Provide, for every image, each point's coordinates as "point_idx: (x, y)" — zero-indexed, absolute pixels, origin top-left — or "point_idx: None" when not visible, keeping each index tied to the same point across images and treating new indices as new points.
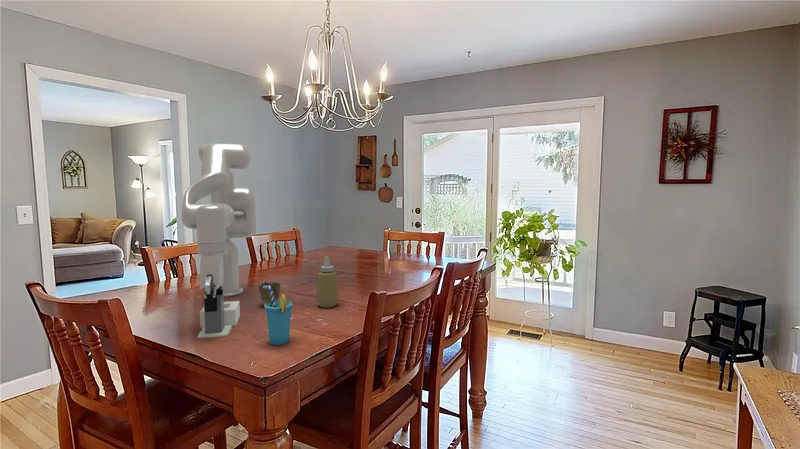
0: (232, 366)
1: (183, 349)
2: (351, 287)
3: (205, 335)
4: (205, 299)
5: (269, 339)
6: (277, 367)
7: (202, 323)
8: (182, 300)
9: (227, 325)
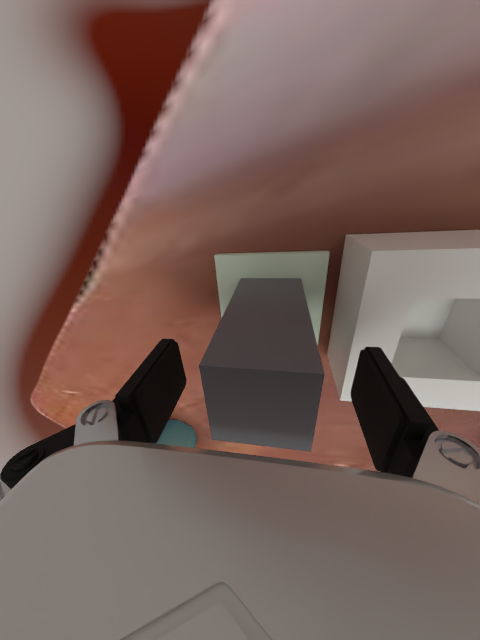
0: (49, 364)
1: (118, 232)
2: None
3: (220, 282)
4: (124, 393)
5: (173, 424)
6: (65, 420)
7: (349, 248)
8: None
9: (316, 337)
